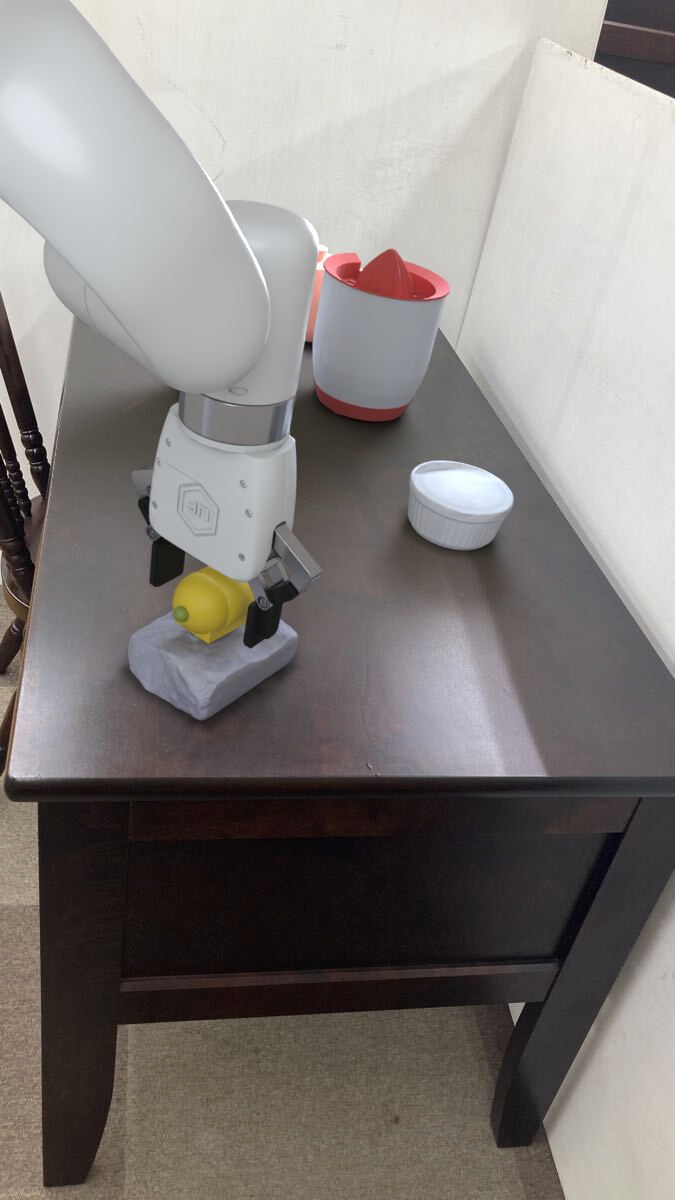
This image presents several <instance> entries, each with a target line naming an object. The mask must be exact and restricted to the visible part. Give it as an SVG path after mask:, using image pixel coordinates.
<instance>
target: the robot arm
mask: <svg viewBox="0 0 675 1200" xmlns="http://www.w3.org/2000/svg"><path fill="white" fill-rule="evenodd" d="M0 200H2V202H4V203H5V204H6V205H7V206H9V207H10V208H11V209H12V210H13V211H14V212H15V213H16V214H18V215H19V216H20V217H21V218H22V219H23V220H24V221H25V222H27V224H29V226H30V227H32V228H33V229H34V230H35V231H36V233H38V234H39V235H40V236H41V237H42V238H43V239H44V244H43V254H42V255H43V267H44V272H45V274H46V277H47V280H48V283H49V285H50V287H51V289H52V291H53V293H54V294H55V296H56V297H57V299H58V300H59V301H60V302H61V303H62V305H63V306H64V307H65V308H66V309H67V310H68V311H69V312H70V313H71V314H73V316H75V317H76V318H77V319H79V320H80V321H81V322H82V323H84V324H85V325H86V326H87V327H89V328H90V329H92V331H94V332H95V333H96V334H97V335H99V336H100V337H102V338H103V339H104V340H105V341H106V342H108V343H110V344H112V345H113V346H115V347H116V348H117V349H118V350H119V351H121V352H122V353H124V354H125V355H126V356H128V357H129V358H130V359H131V360H133V361H134V362H136V363H137V364H138V365H139V366H140V367H141V368H143V369H145V371H147V373H149V374H150V375H152V376H153V377H155V379H157V380H158V381H160V382H161V383H163V384H165V385H166V386H168V387H170V388H172V389H175V390H177V391H179V394H178V402H176V403H175V404H172V405H171V406H170V407H169V410H168V412H167V414H166V415H167V416H166V417H165V420H164V423H163V425H162V430H161V432H160V433H161V434H160V436H159V440H158V445H157V449H156V454H155V460H154V465H145V466H143V467H140V468H138V469H135V470H133V471H131V479H132V483H133V486H134V490H135V493H136V496H137V497H138V498H139V499H138V500H137V507H138V509H139V511H140V513H141V515H142V517H143V519H144V521H145V523H146V525H147V526H146V527H145V530H144V531H145V532H144V533H145V535H146V537H147V538H148V540H150V541H151V542H152V543H151V553H150V566H149V567H150V568H149V580H148V581H149V583H148V584H150V585H151V586H153V587H154V588H159V587H161V586H163V585H165V584H167V583H169V582H171V581H172V580H174V579H177V578H179V577H180V576H182V575H183V573H184V570H185V561H186V559H185V558H186V553H187V554H189V555H191V557H193V558H195V559H197V560H198V561H200V562H202V563H204V564H205V565H207V566H210V567H212V568H213V569H215V570H217V571H218V572H220V573H222V574H223V575H225V576H227V577H229V578H231V579H233V580H235V581H238V582H248V584H249V586H250V589H251V591H252V593H253V596H254V598H255V601H253V602H251V603H250V604H249V606H248V612H247V618H246V625H245V631H244V638H243V642H244V645H245V646H247V647H248V648H250V649H251V648H253V647H254V646H256V645H257V644H259V643H260V642H262V641H263V640H264V639H269V638H271V637H272V636H273V635H274V634H275V633H276V632H277V630H278V627H279V622H280V619H281V615H282V610H283V605H284V604H285V603H288V602H290V601H293V600H294V599H296V598H297V597H299V596H300V595H302V594H303V593H305V592H306V591H307V590H308V589H309V588H310V587H311V586H312V585H313V584H314V583H315V582H316V581H317V580H318V579H319V578H320V577H321V576H322V573H323V571H322V568H321V567H320V565H319V564H318V563H317V562H316V560H315V559H314V558H313V557H312V556H311V554H310V553H309V552H308V550H307V549H306V548H305V547H304V545H303V544H302V543H301V542H300V541H299V539H298V538H297V536H296V535H295V534H294V533H293V526H294V519H295V507H296V496H297V473H298V471H297V450H296V449H297V448H296V447H297V446H296V439H295V438H294V437H293V436H291V435H290V434H291V427H292V421H293V415H294V409H295V405H296V404H295V403H296V397H297V390H298V385H299V380H300V379H299V378H300V373H301V372H300V371H301V367H302V361H303V355H304V349H305V343H306V341H305V337H306V331H307V325H308V319H309V312H310V306H311V300H312V294H313V288H314V282H315V276H316V270H317V264H318V255H319V244H320V242H319V237H318V233H317V231H316V230H315V228H314V226H313V225H312V224H311V223H310V222H309V221H308V220H307V219H306V218H305V217H303V216H301V215H299V214H297V213H295V212H294V211H292V210H289V209H287V208H284V207H281V206H277V205H274V204H270V203H266V202H260V201H253V200H246V199H228V200H224V199H223V197H222V196H221V193H220V192H219V190H218V188H217V187H216V185H215V184H214V182H213V181H212V179H211V177H210V176H209V174H208V173H207V171H206V170H205V169H204V167H203V166H202V164H201V162H200V161H199V159H198V158H197V157H196V155H194V153H193V152H192V150H191V149H190V147H189V146H188V144H187V143H186V142H185V140H184V139H183V138H182V137H181V136H180V134H179V133H178V132H177V131H176V129H175V128H174V127H173V125H172V124H171V123H170V121H169V120H168V119H167V118H166V117H165V115H164V114H163V113H162V112H161V111H160V109H159V108H158V107H157V105H156V104H155V103H154V102H153V100H151V98H150V97H149V96H148V95H147V94H146V93H145V91H144V90H143V89H142V87H141V86H140V85H139V84H138V83H137V82H136V80H135V79H134V78H133V77H132V76H131V74H130V72H128V71H127V68H125V67H124V65H123V64H122V63H121V61H120V60H119V59H118V58H117V56H116V55H115V54H114V52H113V51H112V50H111V48H110V47H109V46H108V44H107V43H106V42H105V40H104V39H103V38H102V37H101V35H100V34H99V33H98V32H97V30H96V29H95V27H93V26H92V25H91V23H90V22H89V21H88V20H87V18H85V16H84V15H83V13H81V11H79V10H78V8H77V6H76V5H74V3H73V2H72V1H71V0H0ZM283 562H284V564H285V565H286V566H287V567H288V568H289V570H290V573H291V576H290V577H289V576H288V573H287V571H286V569H285V566H284V564H283ZM266 571H267V573H268V576H269V578H270V580H271V582H272V585H271V586H268V583H267V582H266V579H265V576H264V574H263V573H264V572H266Z"/></svg>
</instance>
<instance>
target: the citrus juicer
mask: <svg viewBox="0 0 675 1200" xmlns="http://www.w3.org/2000/svg"><path fill="white" fill-rule="evenodd" d="M331 255H332V256H330V257H328V258H326V260H325V261H324V263H323V268H324V269H325V270H324V276H323V282H322V288H321V293H320V299H319V305H318V311H317V317H316V323H315V329H314V338H313V342H312V370H313V384H314V387H315V392H316V396H317V398H318V400H319V401H320V402H321V404H323V405H324V406H325V407H327V408H328V409H329V410H331V411H332V412H333V413H334V414H336V415H340V416H344V417H348V418H351V419H356V420H359V421H360V420H361V421H365V422H386V421H393V420H395V419H398V418H399V417H401V416H402V415H403V413H404V412H405V411H406V410H407V409H408V407H409V406H410V404H411V403H412V402H413V399H414V398H415V395H416V393H417V391H418V390H419V388H420V386H421V384H422V382H423V380H424V379H425V378H424V377H425V375H426V374H427V370H428V368H429V363H430V361H431V358H432V353H433V349H434V345H435V341H436V338H437V334H438V330H439V326H440V322H441V317H442V315H443V311H444V306H445V303H446V298H447V296H449V294H450V292H451V287H450V284H449V283H448V281H447V280H446V279H445V278H443V277H442V276H440V275H439V273H436V272H434V271H432V270H430V269H428V268H426V267H424V266H422V265H418V264H416V263H413V262H410V261H405V260H403V258H402V257H401V255H400V254H399V252H398V250H396V249H395V248H393V247H392V248H387V249H386V250H384V251H383V252H381V253H379V254H378V255H377V256H376V257H374V258H373V259H372V260H370V261H369V262H368V263H367V264H366V265H365V266H364V267H363V268H362V269H363V270H362V271H360V269H361V266H362V261H361V259H360V257H359V256H358V254H357V252H342V253H336V254H331Z"/></svg>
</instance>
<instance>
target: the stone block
mask: <svg viewBox="0 0 675 1200" xmlns="http://www.w3.org/2000/svg"><path fill="white" fill-rule="evenodd" d="M173 612H174V611H173V609H172V610H170V611H169V612H167V614H165V615H162V616H160V617H158V618H156V619H154V620H153V621H151V622H150V623H149V624H148V625H145V626H143V627H141V628H140V629H138V630H137V631H136V632H133V633H132V634H131V635H130V638H129V642H128V647H127V656H128V657H127V658H128V664H129V670H130V672H131V673H132V674H133V675H134V676H135V677H136V679H137V680H138V681H139V682H140V684H141V686H142V687H143V688H144V690H145V691H148V692H149V693H151V694H153V695H156V696H157V697H159V698H161V699H163V700H165V701H166V702H167V703H170V704H171V705H172V706H174V708H176V709H178V710H180V711H183V712H184V713H186V714H188V715H190V716H191V717H192V718H194V719H195V720H198V721H205V720H208V719H209V718H212V717H213V716H215V715H216V714H217V713H218V712H221V711H222V710H223V709H225V708H226V707H228V706H229V705H230V704H232V703H234V702H235V701H236V700H238V699H239V698H241V697H242V696H243V695H245V694H246V693H248V692H249V691H250V690H252V689H254V688H255V687H257V686H258V685H260V683H262V682H263V681H265V680H266V679H268V678H269V677H271V676H273V675H274V674H276V673H277V672H278V671H280V670H281V669H283V668H284V667H286V666H287V665H288V664H290V662H291V661H292V660H293V659H294V657H295V655H296V654H297V652H298V651H297V650H298V645H299V640H298V637H299V636H298V633H297V632H296V631H295V630H294V628H293V627H291V625H289V624H287V623H286V622H285V621H283V620H282V619H281V618H280V622H279V627H278V630H277V632H276V633H275V634H274V635H273V636H272V637H271V638H269V639H264V640H263V641H262V642H260V643H259V644H257V645H256V646H254V647H253V648H251V649H250V648H248V647H247V646H245V645H244V642H243V638H244V631H245V625H246V624H244V625H242V626H240V627H238V628H236V629H235V630H233V631H231V632H229V633H227V634H226V635H224V636H222V637H220V638H218V639H216V640H215V641H213V642H211V643H209V644H208V643H206V642H205V641H203V640H202V639H200V638H199V637H197V636H196V635H194V634H193V633H191V632H190V631H188V630H187V629H185V628H184V627H182V626H180V625H179V624H177V623H176V622H175V621H174V620H175V618H174V616H173Z"/></svg>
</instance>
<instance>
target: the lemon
mask: <svg viewBox="0 0 675 1200" xmlns="http://www.w3.org/2000/svg"><path fill="white" fill-rule="evenodd" d="M171 600H172V601H171V604H172V605H171V606H172V610H173V611H174V612H173V616H174V618H175V620H174V621H175V622H176V623H177V624H179V625H180V626H182V627H184V628H185V629H187V630H188V631H190V632H191V633H193V634H194V635H196V636H197V637H199V638H200V639H202V640H203V641H205V642H206V643H208V644H209V643H211V642H213V641H215V640H216V639H218V638H220V637H222V636H224V635H226V634H227V633H229V632H231V631H233V630H235V629H236V628H238V627H240V626H242V625H244V624H246V618H247V612H248V606H249V604H250V603H251V602H253V601H255V598H254V596H253V593H252V591H251V589H250V586H249V584H248V582H238V581H235V580H233V579H231V578H229V577H227V576H225V575H223V574H222V573H220V572H218V571H217V570H215V569H213V568H212V567H210V566H208V565H207V566H206V567H202V568H201V569H199V570H197V571H194V572H192V573H190V574H188V575H187V576H185V577H183V578H182V579H181V581H180V582H179V583H178V584H177V585H176V587H175V589H174V591H173V595H172V599H171Z"/></svg>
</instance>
